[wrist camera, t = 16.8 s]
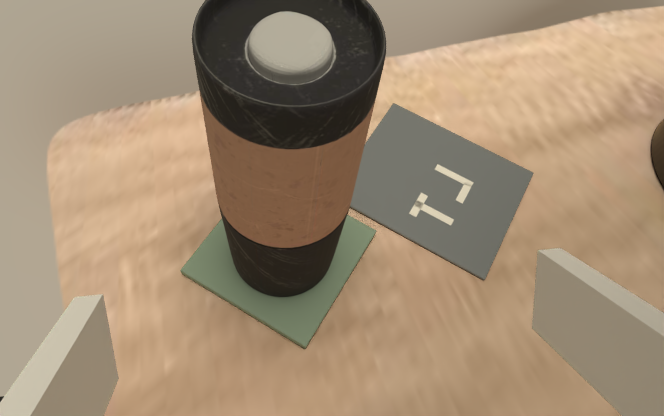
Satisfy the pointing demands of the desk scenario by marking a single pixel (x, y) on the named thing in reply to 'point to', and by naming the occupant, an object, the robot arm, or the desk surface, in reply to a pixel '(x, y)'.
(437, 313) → the desk surface
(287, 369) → the desk surface
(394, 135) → the card
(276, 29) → the travel mug
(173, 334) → the desk surface
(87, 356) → the robot arm
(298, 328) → the sage green mat
